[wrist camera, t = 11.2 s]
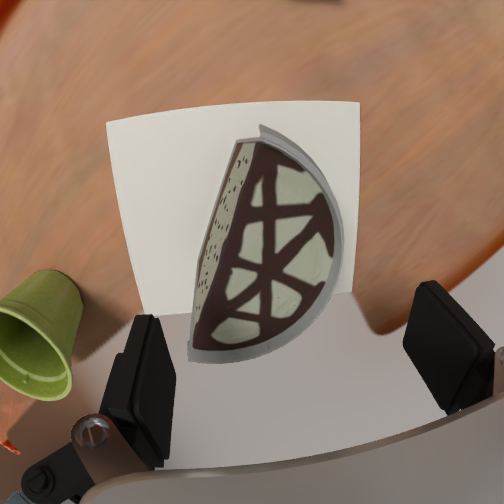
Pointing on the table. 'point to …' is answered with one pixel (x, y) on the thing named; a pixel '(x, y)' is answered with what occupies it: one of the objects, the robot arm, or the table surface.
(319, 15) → the table surface
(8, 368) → the plant pot
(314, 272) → the food container
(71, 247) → the table surface
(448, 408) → the robot arm
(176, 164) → the cream board
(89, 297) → the table surface
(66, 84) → the table surface
